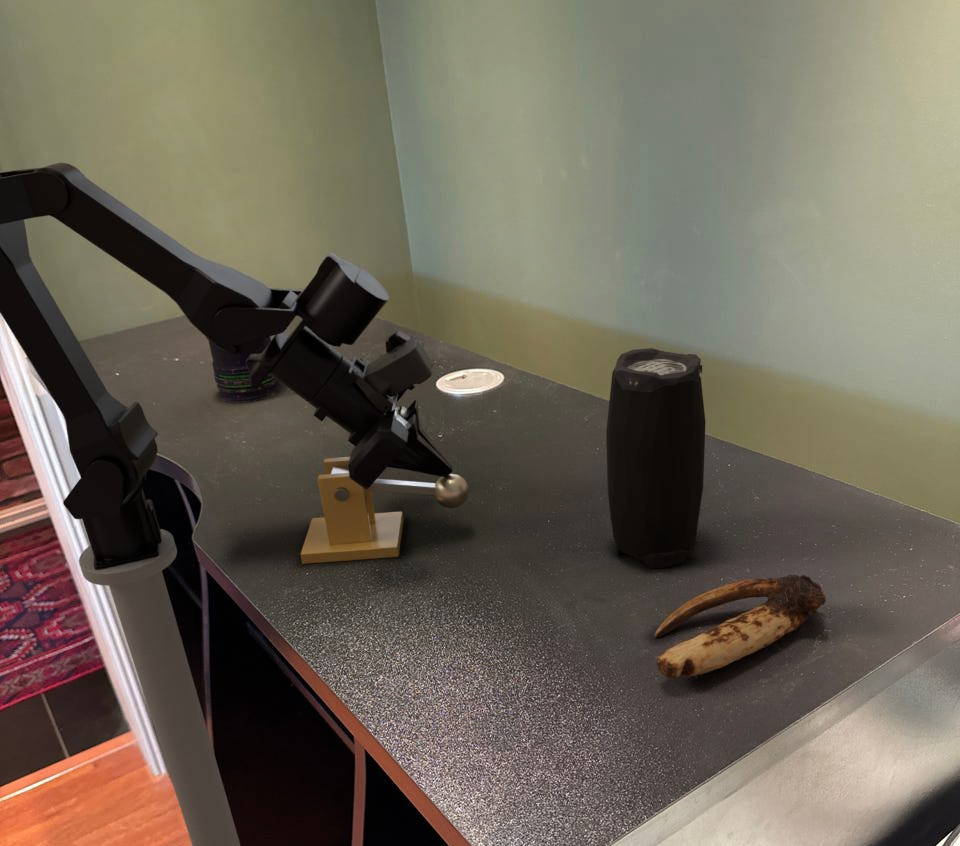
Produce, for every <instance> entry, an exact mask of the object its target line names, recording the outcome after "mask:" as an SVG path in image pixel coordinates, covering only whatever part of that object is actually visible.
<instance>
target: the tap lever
mask: <svg viewBox="0 0 960 846" xmlns="http://www.w3.org/2000/svg"><path fill="white" fill-rule="evenodd" d="M338 473H349V469H348V468H341V467H333V468H332V471H331V474H338ZM365 491H371V492H376V493H377V492H379V493H389V494H391V493H392V494H403V495H404V494H405V495H417V496H430V497H434V498H435V500H436V502H437V503H438V504H439V505H440V506H442V507H443V508H445V509H446V508H447V509H457V508H459V507H461V506H462V505H464V504H465V502H466V501H467V500H468V497H469V493H470V492H469V491H470V490H469V485H468V482H467V481H466V479H465V478H464V477H462V476H461V475H460V474H457V473H450V475H449V476H448V477H441V476H439V478H438V479H437V481H436V482H435V483H434V482H424V481H423V482H422V481H411V480H397V479H387V478H385V479H384V478H377V479H376V480H375V482H374V483H373V484H372V485H371V486H370V487H369V488H368V489H365Z"/></svg>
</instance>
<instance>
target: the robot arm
mask: <svg viewBox="0 0 960 846" xmlns="http://www.w3.org/2000/svg"><path fill="white" fill-rule="evenodd" d="M48 216H49V217H52V218H54V219H55V220H57V221H58V222H60V223H61V224H63V225H64V226H66V227H67V228H69V229H70V230H72V231H73V232H75V233H77V234H78V235H79V236H80V237H82V238H84V239H85V240H86V241H88V242H90V243H91V244H93V245H94V246H95V247H97V248H98V249H100V250H101V251H103V252H104V253H105V254H106V255H109V256H110V257H112V258H113V259H115V260H116V261H118V263H120V264H122V265H123V266H125V267H126V268H127V269H129V270H131V271H132V272H134V273H135V274H136V275H138V276H139V277H141V278H142V279H144V280H146V282H148V283H150V285H151V284H152V285H153V286H154V287H156V288H157V289H159V290H160V291H161V292H163V293H164V294H166V295H167V296H168V297H169V298H170V299H171V300H172V301H173V302H175V303H176V305H177V306H178V308H179V309H180V310H181V312H182V313H183V314H184V316H185V317H186V319H187V320H188V322H189V323H190V324H191V325H192V326H193V327H195V328H196V329H197V330H198V331H199V333H201V334H202V335H203V336H205V338H206V337H207V338H208V339H209V340H210V341H211V342H212V343H213V344H214V345H216V346H217V347H218V348H219V349H221V350H223V351H225V352H227V353H232V354H237V353H246V352H250V351H252V350H254V349H256V348H257V347H258V346H259V345H260V344H261V343H262V342H263V340H264V339H265V338H266V337H270V338H271V337H272V338H271V342H270V343H269V344H268V346H267V347H266V348H265V350H264V351H263V352H262V353H261V354H251V355H250V356H249V358H248V359H247V361H246V365H247V367H248V369H249V373H250V385H251V387H252V388H253V389H257V388H258V387H259V386H260V385H261V383H262V382H263V381H264V379H265V378H266V377H267V375H268V374H270V375H272V376H273V377H274V378H276V379H277V380H278V381H280V383H281V385H284V386H285V387H286V388H288V389H289V390H290V391H292V392H293V393H295V394H296V395H297V396H299V397H300V398H301V399H302V400H304V401H305V402H307V403H308V404H309V405H311V406H312V407H313V408H315V410H314V413H313V417H315V418H316V419H317V420H319V421H320V422H323V421H324V420H325V419H326V417H327V418H329V420H331V421H332V422H334V423H335V424H337V426H339V427H340V428H342V429H343V430H345V431H346V432H347V433H348V434H349V435H348V439H347V442H349V443H350V444H351V445H353V446H354V447H353V449H352V450H351V452H350V456H349V457H350V460H349V463H348V469H349V476H350V479H352V480H353V481H355V482H356V483H357V484H359V485H360V486H362V487H363V488H364V489H368V488H369V487H370V486H371V485H372V484H373V483H374V482H375V480H376V479H379V477H380V476H381V475H382V474H383V472H384V471H386V469H387V468H391V469H398V470H405V471H411V472H416V473H420V474H421V473H422V474H425V475H430V476H436V477H448V476H449V475H450V474H452V473H453V465H451V463H450V462H449V461H448V459H447V458H446V457H445V456H444V454H443V453H442V451H441V450H440V449H439V448H438V445H436V444H435V442H434V441H433V440H432V438H431V437H430V436H429V435H428V433H427V432H426V430H425V429H424V427H423V426H422V425H421V423H420V415H419V402H418V399H415V400H413V401H412V403H411V404H410V405H409V406H408V407H407V408H406V407H405V406H404V405H400V406H399V407H398V406H397V403H398V402H399V400H401V398H402V397H403V396H404V395H405V393H406V391H407V390H409V391H413V390H414V389H415V388H416V385H421V384H422V383H424V382H426V381H428V379H429V378H431V377H432V375H433V371H432V367H434V362H433V361H432V359H431V357H429V355H428V353H427V352H426V350H425V348H424V345H425V344H424V342H423V341H422V340H420V339H418V337H416V335H412V336H409V335H407V334H405V333H404V332H403V331H401V330H399V329H397V330H395V331H394V332H393V333H390V334H389V335H387V336H386V338H385V353H384V352H382V353H380V354H379V357H377V358H376V359H373V361H371V362H370V363H369V362H367V361H366V360H365V359H363V358H362V357H361V356H357V357H356V356H355V355H354V356H353V357H352V358H351V360H350V359H349V358H347V357H346V356H345V355H343V354H342V353H341V352H340V351H338V350H337V349H335V347H338V348H340V347H341V346H342V345H347V346H352V345H354V344H355V343H356V342H357V341H358V339H359V338H360V336H361V335H362V334H363V333H364V331H366V329H367V328H368V327H369V325H370V324H371V323H372V322H373V320H374V319H375V318H376V316H377V315H378V314H379V313H380V311H382V310H383V307H385V305H386V304H387V303H388V302H389V300H390V295H389V293H388V291H387V290H386V289H385V287H384V286H383V285H382V284H381V283H380V281H378V280H377V279H376V278H375V277H374V276H373V275H372V274H370V273H369V272H368V271H367V270H366V269H365V268H363V267H360V268H359V267H358V266H356V265H355V264H353V263H352V262H350V261H348V260H345V259H342V258H340V257H339V256H337V255H336V254H335V253H334V252H328V253H327V255H326V256H325V257H324V259H323V260H322V261H321V263H320V265H319V266H318V269H317V271H316V273H315V274H314V276H313V277H312V279H310V281H309V282H308V284H307V285H306V287H304V289H290V288H274V287H273V288H271V287H268V286H267V285H266V284H264V283H263V282H262V281H260V280H258V279H255V278H253V277H251V276H249V275H247V274H246V273H243V272H241V271H239V270H238V269H235V268H233V267H231V266H228V265H225V264H222V263H219V262H215V261H213V260H209V259H206V258H204V257H202V256H200V255H198V254H196V253H194V252H193V251H191V250H190V249H188V247H186V246H184V245H183V244H182V243H180V242H179V241H177V240H176V239H174V238H173V237H171V236H170V235H169V234H167V233H165V231H164V230H162V229H160V228H159V227H157V226H156V225H154V224H153V223H152V222H150V221H149V220H147V219H146V218H145V217H143V216H142V215H140V214H139V213H138V212H136V211H135V210H133V209H132V208H130V207H128V206H127V205H126V204H124V203H123V202H122V201H120V200H119V199H118V198H116V197H114V196H113V195H112V194H110V193H108V192H107V191H106V190H104V189H103V188H102V187H100V186H99V185H97V184H96V183H95V182H93V181H92V180H90V179H89V178H87V176H86V175H85V174H84V173H82V171H81V170H80V169H78V168H77V167H76V166H74V165H72V164H70V163H67V162H57V163H52V164H49V165H46V166H43V167H32V168H23V169H15V170H8V171H1V172H0V315H1V318H3V320H4V322H5V323H6V325H7V326H8V328H9V330H10V331H11V334H12V335H13V336H14V338H15V340H16V341H17V342H18V344H19V346H20V348H21V349H22V351H23V352H24V354H25V356H26V358H27V359H28V361H29V362H30V364H31V366H32V367H33V368H34V370H35V372H36V374H37V375H38V377H39V379H40V380H41V381H42V384H44V386H45V388H46V390H47V392H48V394H49V395H50V397H51V398H52V399H53V401H54V403H55V404H56V406H57V407H58V409H59V411H60V413H61V414H62V416H63V418H64V421H65V428H66V434H67V442H68V450H69V454H70V455H71V456H70V457H71V458H72V461H73V463H74V465H75V467H76V470H77V472H78V474H79V477H80V478H79V479H78V480H77V482H76V484H75V485H74V486H73V488H72V489H71V491H70V492H69V493H68V494H67V496H66V497H65V498H64V500H63V502H62V505H63V506H64V507H65V508H66V510H67V511H68V513H69V514H70V516H72V517H73V519H74V520H81V521H82V523H83V527H84V530H85V532H86V536H87V539H88V542H89V546H90V545H91V548H92V551H93V554H94V564H93V565H94V568H95V570H100V569H105V568H109V567H114V566H118V565H122V564H127V563H131V562H135V561H140V560H144V559H149V558H153V557H157V556H158V555H159V545H158V544H160V543H161V542H162V538H161V530H160V529H161V526H160V524H159V520H158V517H157V513H156V510H155V506H154V503H153V500H152V499H147V498H146V494H145V492H144V489H143V486H141V485H142V484H143V483H144V482H145V481H146V480H147V473H148V472H149V470H150V469H151V467H152V466H153V464H154V463H155V462H156V458H157V455H158V452H159V451H158V445H157V444H158V443H157V442H156V438H157V437H158V435H159V433H158V431H156V430H155V429H154V427H152V426H151V424H150V423H149V421H148V419H147V417H146V415H145V412H144V409H143V407H142V406H141V404H140V402H138V401H134V402H132V403H130V404H129V405H127V406H126V405H125V404H124V403H122V402H120V401H119V400H118V399H116V398H115V397H114V396H112V394H111V393H110V392H109V391H108V389H107V388H106V386H105V384H104V383H103V381H102V379H101V378H100V376H99V374H98V372H97V371H96V369H95V367H94V366H93V364H92V362H91V360H90V359H89V357H88V355H87V353H86V352H85V350H84V348H83V347H82V345H81V343H80V342H79V340H78V338H77V336H76V335H75V333H74V331H73V330H72V327H71V326H70V324H69V323H68V321H67V320H66V318H65V315H64V314H63V313H62V310H61V309H60V307H59V305H58V304H57V302H56V301H55V299H54V297H53V296H52V294H51V292H50V290H49V288H48V287H47V285H46V283H45V282H44V279H43V278H42V277H41V274H40V272H39V271H38V270H37V267H36V266H35V265H34V263H33V261H32V259H31V256H30V250H29V249H30V248H29V243H28V235H27V228H26V223H25V221H26V220H29V219H34V218H40V217H48ZM296 317H299V318H300V319H301V320H300V321H299V322H298V324H297V325H296V326H295V327H294V329H293V330H292V331H291V332H290V333H286V332H285V331H286V330H287V328H288V327H289V326H290V325H291V323H292V322H293V321H294V319H295V318H296ZM273 336H274V337H273ZM207 338H206V339H207ZM208 339H207V340H208Z"/></svg>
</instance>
